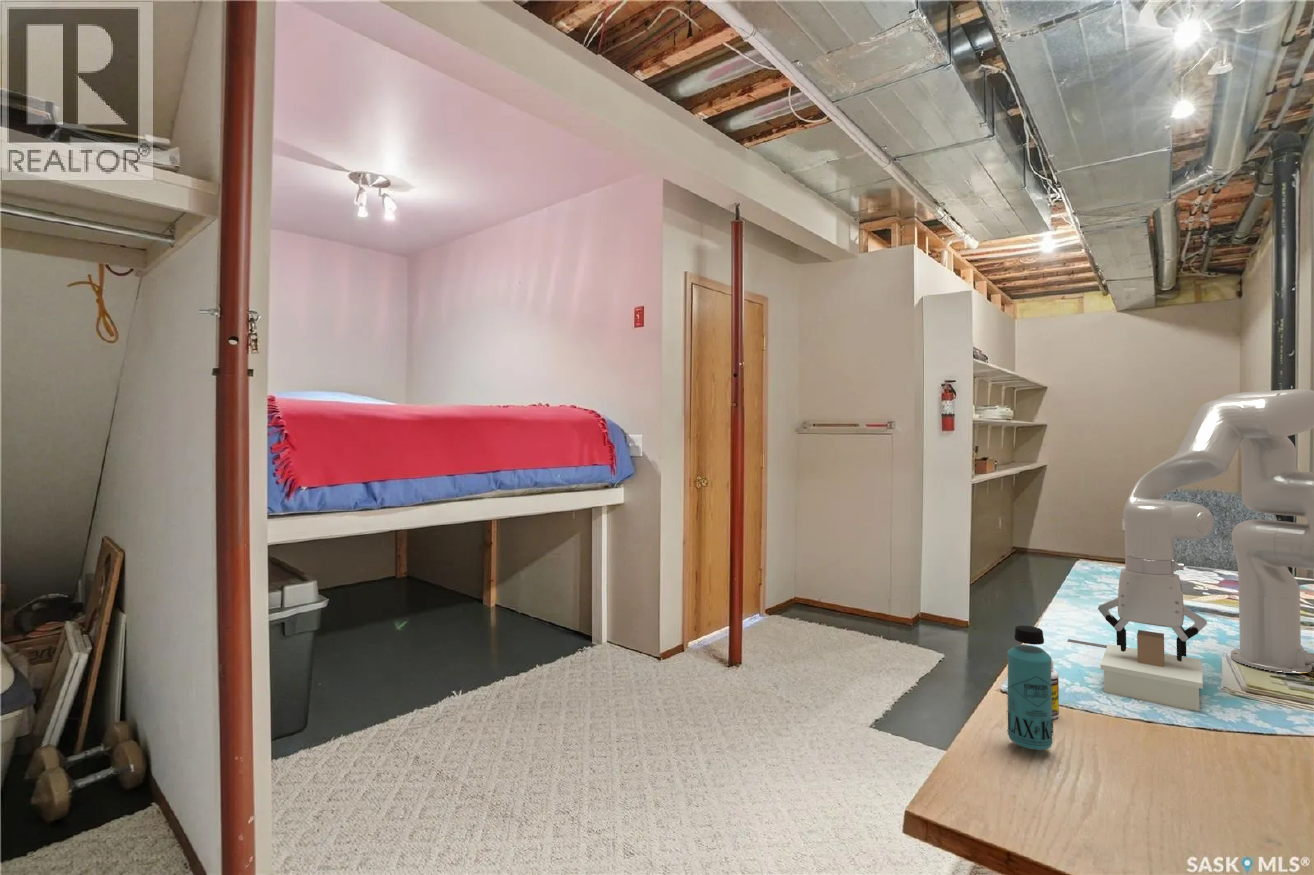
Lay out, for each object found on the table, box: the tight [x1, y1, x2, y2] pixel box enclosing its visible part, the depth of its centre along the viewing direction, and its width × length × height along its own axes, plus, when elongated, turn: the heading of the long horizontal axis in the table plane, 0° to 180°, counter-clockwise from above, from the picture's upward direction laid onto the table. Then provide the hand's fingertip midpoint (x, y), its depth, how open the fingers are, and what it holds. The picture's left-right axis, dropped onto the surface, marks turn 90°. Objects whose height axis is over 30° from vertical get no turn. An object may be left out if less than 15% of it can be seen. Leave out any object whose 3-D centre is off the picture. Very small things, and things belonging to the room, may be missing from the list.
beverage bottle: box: [1006, 625, 1054, 751], centre depth 100 cm, size 6×7×20 cm
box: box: [1103, 670, 1200, 713], centre depth 121 cm, size 14×14×5 cm
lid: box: [1099, 629, 1204, 690], centre depth 121 cm, size 15×15×6 cm
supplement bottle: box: [1051, 659, 1060, 720], centre depth 113 cm, size 6×6×10 cm
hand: (1150, 654), depth 121 cm, fingers open, 8 cm apart
